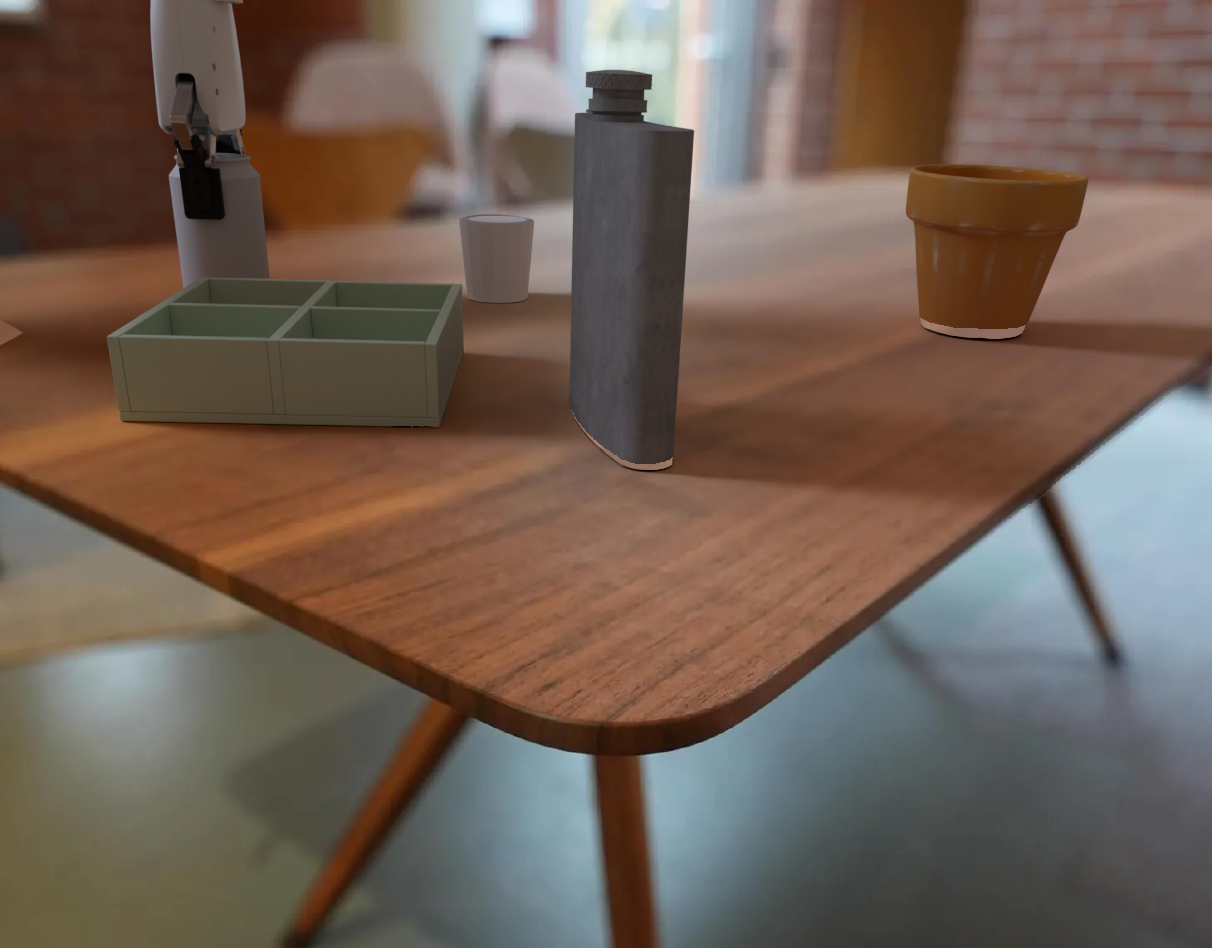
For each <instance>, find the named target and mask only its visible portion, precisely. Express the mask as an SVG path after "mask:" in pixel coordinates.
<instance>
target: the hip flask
mask: <svg viewBox="0 0 1212 948" xmlns="http://www.w3.org/2000/svg"><path fill="white" fill-rule="evenodd" d="M652 87H653V74H652V73H646V72H641V71H636V70H627V69H600V70H591V71H585V88H589V89H590V88H591V89H592V98H588V99H587V101H588V109H585V112H576V113H574V141H573V142H574V143H573V144H574V146H573V147H574V148H573V187H572V188H573V192H572V193H573V194H572V195H573V196H572V240H571V241H572V242H571V243H572V244H571V245H572V246H571V251H572V252H571V293H570V294H571V295H570V296H571V297H570V298H571V299H570V343H569V345H570V346H569V347H570V348H569V393H568V394H569V395H568V397H569V398H568V399H569V400H570V402H569V407H570V406H571V408H570V410H571V409H572V411H573V413H574V416H575V417H576V419H577V421H578V422H579V423H580V424H581V426H582V427H583V428H584V429H585V431H586V432H587V433H588V434H589V435H590V436H591V437H593V439H594V440H596V441H597V442H598V443H599V444H600V445H602V446H603V447H604V448H605V449H607V450H609V451H611V453H613V454H614V455H617V456H618V457H619V458H620V459H622V460H626V461H628V462H631V463H635V464H656V463H660V462H665V461H667V460H670V459H671V458H672V457H673V458H674V454H675V453H674V452H675V438H676V437H675V435H676V421H677V406H678V391H679V375H680V362H681V361H680V360H681V343H682V329H683V314H684V298H685V297H684V296H685V281H686V280H685V279H686V265H687V252H688V251H687V249H688V234H689V218H690V203H691V202H690V201H691V188H692V186H691V185H692V172H693V157H694V156H693V155H694V141H695V130H694V129H691V128H685V127H678V126H673V125H668V124H667V125H666V124H660V123H655V122H651V121H645V115H644V114H645V113H648V101H649V100H648V99H645V91H650V90H652V89H653V88H652ZM572 411H571V412H572ZM574 416H573V417H574Z"/></svg>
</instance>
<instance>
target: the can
mask: <svg viewBox="0 0 1212 948" xmlns="http://www.w3.org/2000/svg"><path fill="white" fill-rule="evenodd" d="M173 158H174V160H175V161H176V162H177V154H175V155H174V157H173ZM251 159H252V158H251V156H250V155H248V154H245V155H243V154H232V153H215V168H220V174H221V182H222V191H223V200H224V209H225V217H224V218H223V219H221V220H206V219H188V218H187V217H186V216H185V213H184V205H183V197H182V189H181V182H180V174H179V167H178V164H177V163H176V164H175V166H174V167H173V168H172V170H171V171H170V172H169V174H168V181H169V182H168V183H169V189H170V196H171V204H172V210H173V219H174V227H175V234H176V242H177V250H178V256H179V264H180V266H179V267H180V271H181V280H182V281H181V282H182V289H183V288H185V287H187V286H188V285H190V284H191V283H193V282H194V281H196V280H198V279H199V278H201V277H210V278H211V277H222V278H259V279H271V278H270V277H271V276H270V268H269V258H268V257H269V256H268V247H267V238H266V227H265V218H264V206H263V196H262V195H263V194H262V187H261V186H262V185H261V175H260V173H259V172H258V171H257V170H256V168H254V167H253V166H252V165H251V163H250V160H251Z"/></svg>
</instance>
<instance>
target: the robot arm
mask: <svg viewBox="0 0 1212 948" xmlns="http://www.w3.org/2000/svg"><path fill="white" fill-rule="evenodd" d="M243 3H244V1H243V0H150V12H149V13H150V14H149V15H150V17H149V18H150V41H151V42H150V43H151V44H150V45H151V55H152V57H151V58H152V68H153V69H152V70H153V78H154V91H155V102H156V110H157V118H158V125H159V127H160V129H161V130H162V131H163V132H164V133H165V134H167V135H174V138H173V139H174V140H173V144H174V146H175V147H176V155H177V161H176V164H178V167H179V174H180V182H181V189H182V197H183V205H184V213H185V216H186V217H187V218H188V219H206V220H221V219H223V218H224V217H225V209H224V200H223V191H222V182H221V174H220V168H215V153H232V154H243V155H246V152H245V146H244V142H243V139H242V136H243V134H242V133H243V130H242V128H243V127H244V126H245V124H246V120H247V119H246V117H247V116H246V97H245V90H244V88H245V87H244V79H243V78H244V77H243V69H242V62H241V56H240V55H241V53H240V47H239V41H238V35H237V27H236V22H235V15H234V10H233V4H234V5H235V4H236V5H237V4H243ZM203 141H204V145H203Z"/></svg>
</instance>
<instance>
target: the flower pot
mask: <svg viewBox="0 0 1212 948" xmlns="http://www.w3.org/2000/svg"><path fill="white" fill-rule="evenodd" d="M1088 185H1089V178H1088V177H1087V176H1084V175H1081V174H1077V173H1072V172H1067V171H1059V170H1052V169H1051V170H1049V169H1041V168H1029V167H1019V166H1007V165H994V164H993V165H992V164H969V163H968V164H966V163H964V164H963V163H961V164H960V163H936V164H935V163H934V164H932V163H931V164H921V165H916V166H913V167H911V168H910V170H909V176H908V184H907V192H906V193H907V194H906V202H905V215H906V217H907V218H908V219H909V220H911V221H912V222H913V231H914V242H915V243H914V246H915V248H914V249H915V267H916V268H915V269H916V285H917V302H918V303H917V304H918V316H920V317H919V319H920V318H922V319H924V320H926V321H928V322H930V323H935V324H939V325H944V326H949V327H953V328H978V329H1008V328H1018V327H1021V326H1024V325H1026V324H1027V323H1029V322H1030V319H1031V317H1032V315H1033V312H1034V310H1035V309H1036V308H1035V307H1036V305H1037V302H1038V300H1039V298H1040V295H1041V293H1042V292H1043V288H1044V286H1045V283H1046V281H1047V279H1048V277H1049V274H1050V272H1051V270H1052V267H1053V264H1054V262H1055V259H1056V257H1057V254H1058V252H1059V250H1060V247H1061V245H1062V243H1063V241H1064V238H1065V236H1066V234H1067V233H1068V232H1070V231H1072V230H1073V229H1075V228H1076V227H1077V226H1078V225H1079V223H1080V218H1081V216H1082V211H1083V207H1084V202H1085V198H1086V194H1087V189H1088ZM1027 325H1028V324H1027Z"/></svg>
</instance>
